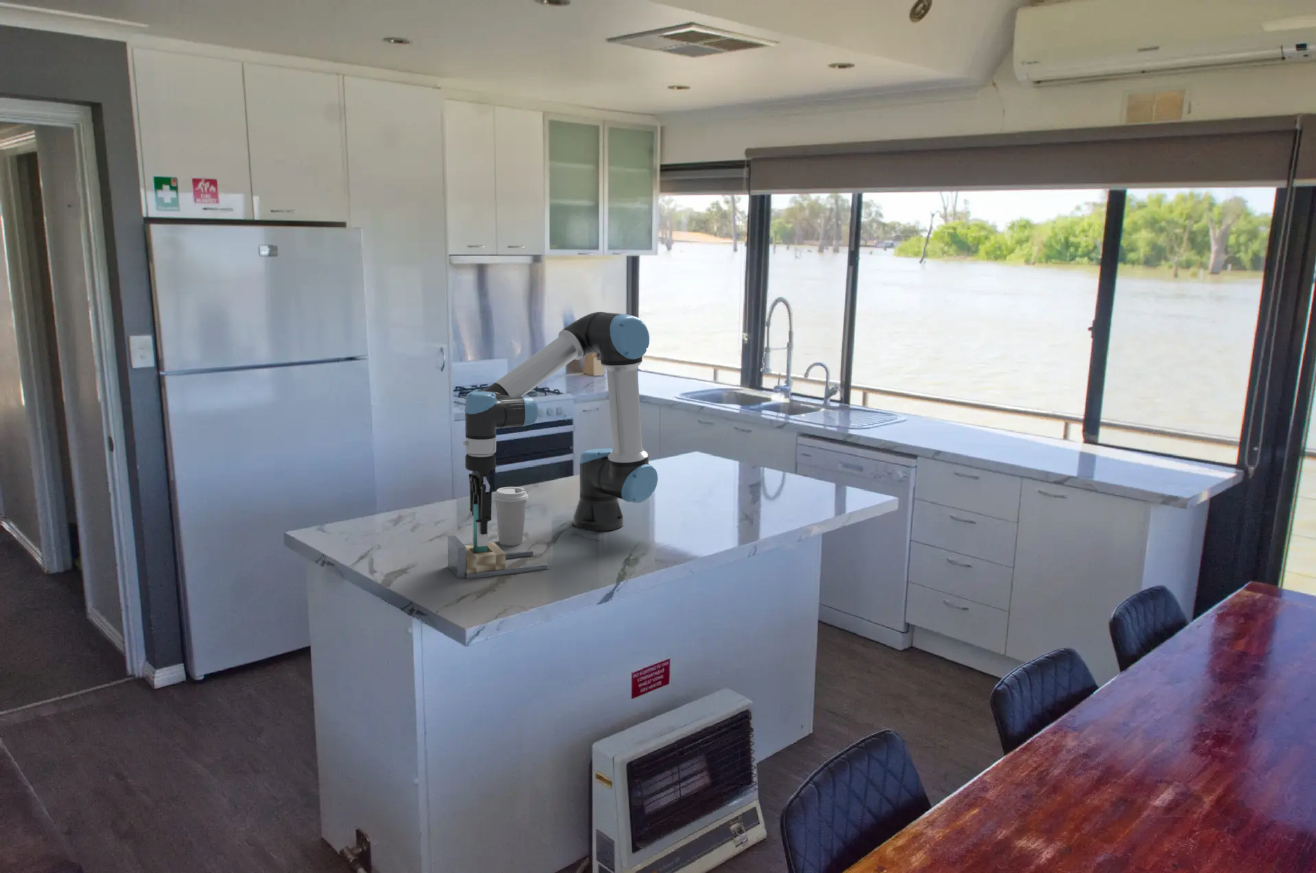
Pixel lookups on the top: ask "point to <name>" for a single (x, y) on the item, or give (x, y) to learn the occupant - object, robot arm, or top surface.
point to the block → (484, 559)
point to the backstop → (459, 569)
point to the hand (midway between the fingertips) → (480, 543)
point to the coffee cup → (510, 514)
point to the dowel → (476, 548)
